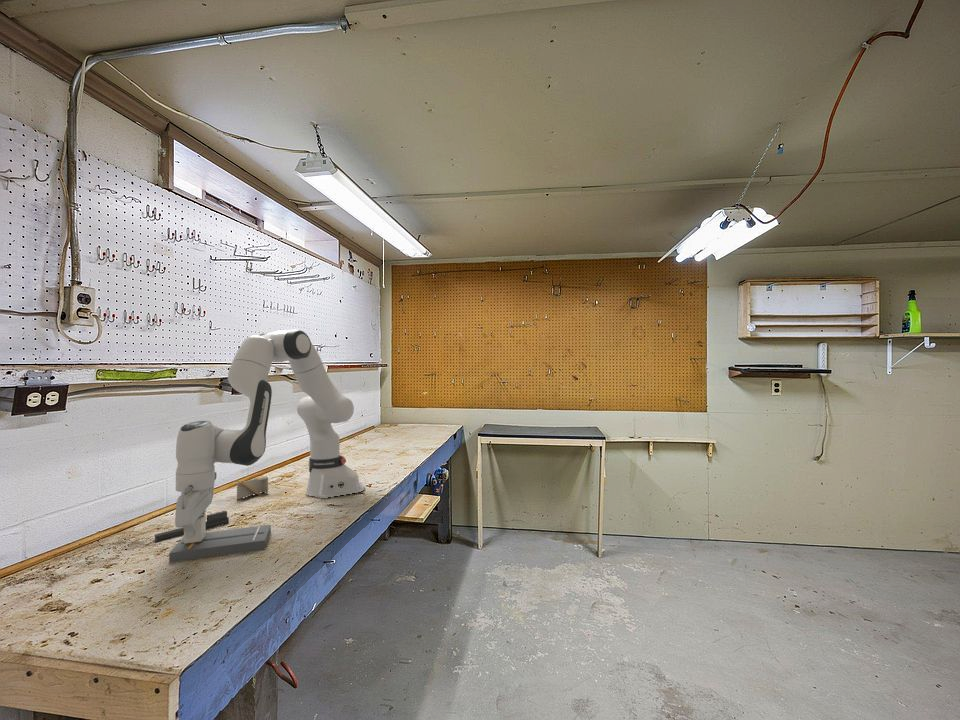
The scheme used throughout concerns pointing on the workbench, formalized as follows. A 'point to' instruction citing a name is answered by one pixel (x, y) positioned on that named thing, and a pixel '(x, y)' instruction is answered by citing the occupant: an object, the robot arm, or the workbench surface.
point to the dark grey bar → (211, 522)
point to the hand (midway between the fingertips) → (194, 531)
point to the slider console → (222, 543)
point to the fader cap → (198, 530)
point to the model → (252, 487)
